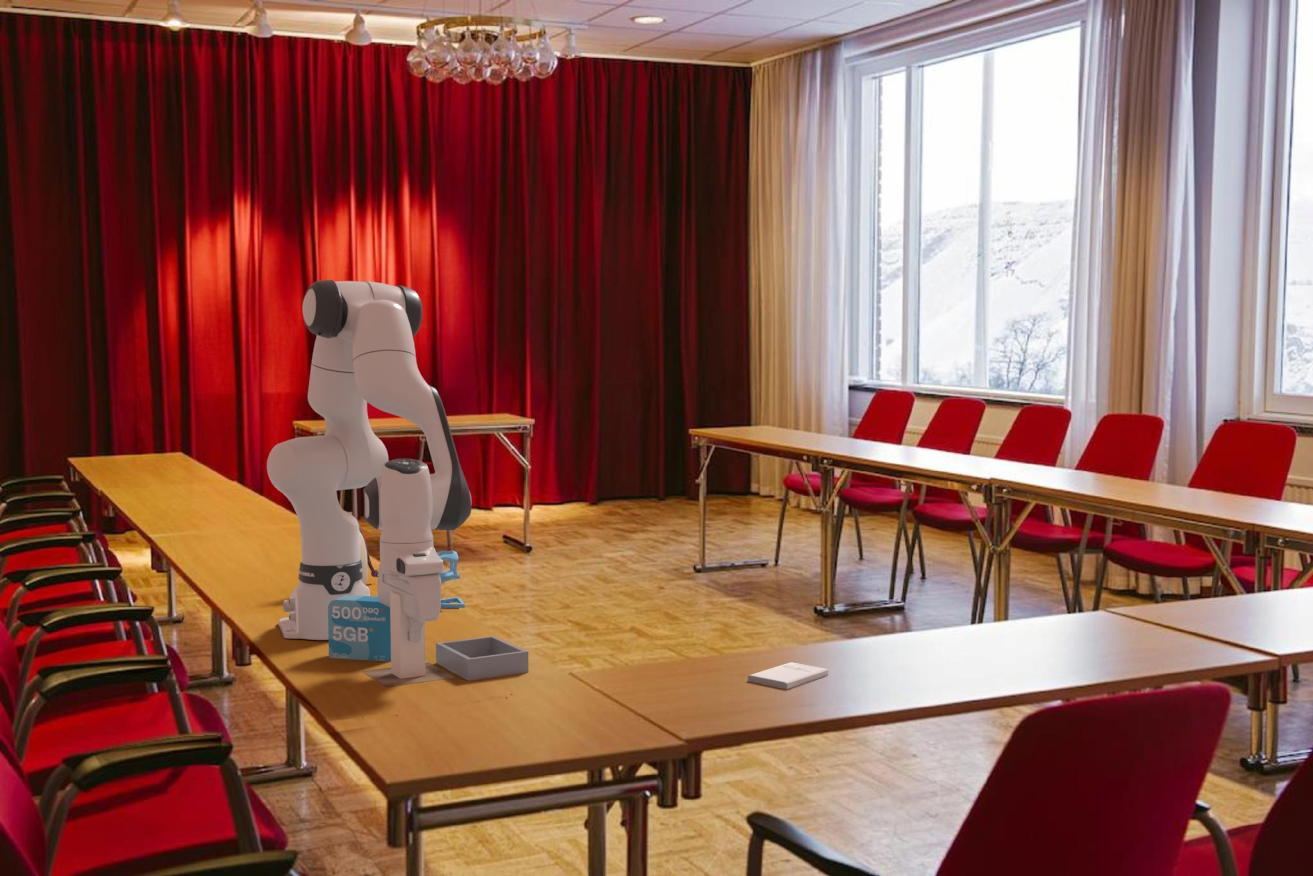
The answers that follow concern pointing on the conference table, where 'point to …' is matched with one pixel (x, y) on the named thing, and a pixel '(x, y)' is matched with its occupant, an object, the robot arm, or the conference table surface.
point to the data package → (359, 628)
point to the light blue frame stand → (450, 578)
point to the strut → (404, 643)
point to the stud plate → (391, 680)
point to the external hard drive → (788, 675)
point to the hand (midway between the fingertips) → (407, 638)
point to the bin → (481, 658)
